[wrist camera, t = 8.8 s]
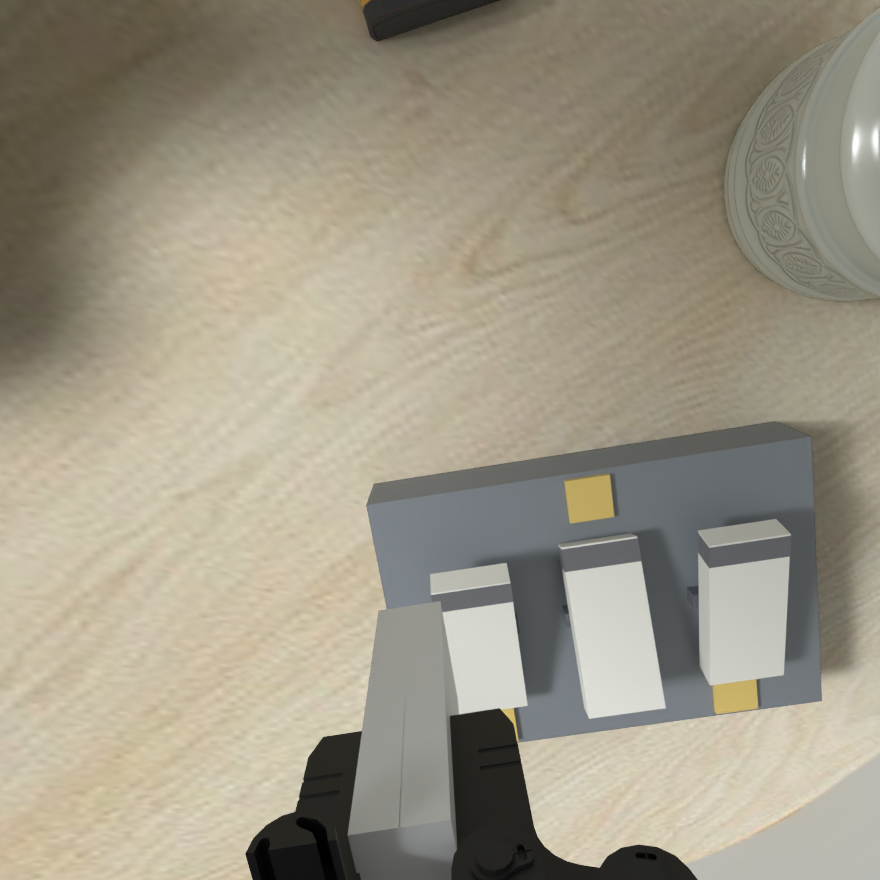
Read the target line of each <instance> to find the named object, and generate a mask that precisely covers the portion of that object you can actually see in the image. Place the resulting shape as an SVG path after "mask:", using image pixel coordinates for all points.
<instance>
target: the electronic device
mask: <svg viewBox="0 0 880 880" xmlns="http://www.w3.org/2000/svg"><path fill="white" fill-rule="evenodd" d="M496 1H499V0H360V2H361V5H362V9H363V13H364V16H365V20H366V23H367V27H368V30H369V33H370V36H371V38H373V39H374V40H376V41H380V40H382V39H386V38H389V37H392V36H395V35H398V34H401V33H404V32H407V31H410V30H413V29H416V28H419V27H421V26H424V25H427V24H430V23H433V22H436V21H439V20H442V19H445V18H448V17H451V16H454V15H457V14H460V13H463V12H466V11H469V10H472V9H475V8H478V7H481V6H484V5H487V4H490V3H493V2H496Z"/></svg>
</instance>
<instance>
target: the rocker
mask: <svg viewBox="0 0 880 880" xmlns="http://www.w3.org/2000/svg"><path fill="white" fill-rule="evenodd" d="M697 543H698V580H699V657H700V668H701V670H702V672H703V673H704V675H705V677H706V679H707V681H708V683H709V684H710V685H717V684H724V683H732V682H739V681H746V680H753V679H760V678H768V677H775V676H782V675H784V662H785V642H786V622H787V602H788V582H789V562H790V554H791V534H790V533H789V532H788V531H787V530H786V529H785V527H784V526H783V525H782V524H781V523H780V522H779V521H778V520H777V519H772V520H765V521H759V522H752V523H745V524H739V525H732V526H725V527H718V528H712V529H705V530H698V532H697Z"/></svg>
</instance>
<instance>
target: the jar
mask: <svg viewBox="0 0 880 880" xmlns="http://www.w3.org/2000/svg"><path fill="white" fill-rule="evenodd" d="M724 203H725V211H726V215H727V220H728V223H729V226H730V229H731V232H732V234H733V237H734V239H735V241H736V243H737V245H738V246H739V248H740V250H741V251H742V253H743V254H744V255H745V257H746V258H747V259H748V260H749V262H750V263H751V264H752V265H753V266H754V267H755V268H756V269H757V270H758V271H759V272H761V273H762V274H763V275H764V276H766V277H767V278H769V279H770V280H772V281H773V282H775V283H777V284H779V285H781V286H783V287H785V288H787V289H789V290H791V291H793V292H795V293H798V294H801V295H804V296H808V297H811V298H816V299H822V300H835V301H857V300H865V299H871V298H880V7H879V8H877V9H876V10H875V11H873V12H872V13H871V14H870V15H869V16H868V17H866V18H865V19H864V20H863V21H862V22H861V23H860V24H859V25H857V26H856V27H854V28H853V29H851V30H850V31H848V32H846V33H845V34H843V35H842V36H840V37H837V38H834V39H832V40H829V41H827V42H825V43H823V44H821V45H819V46H817V47H815V48H814V49H812V50H811V51H809V52H807V53H806V54H805V55H803V56H802V57H800V58H799V59H797V60H796V61H794V62H793V63H792V64H790V65H789V66H788V67H786V68H785V69H784V70H783V71H782V72H781V73H779V74H778V75H777V76H776V77H775V78H774V79H773V80H772V81H771V82H770V84H769V85H768V86H767V87H766V88H765V89H764V90H763V92H762V93H761V94H760V96H759V97H758V98H757V100H756V101H755V103H754V104H753V105H752V106H751V108H750V109H749V111H748V112H747V114H746V115H745V117H744V119H743V120H742V122H741V124H740V126H739V128H738V130H737V132H736V134H735V136H734V139H733V141H732V144H731V147H730V150H729V154H728V158H727V162H726V168H725V174H724Z"/></svg>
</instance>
